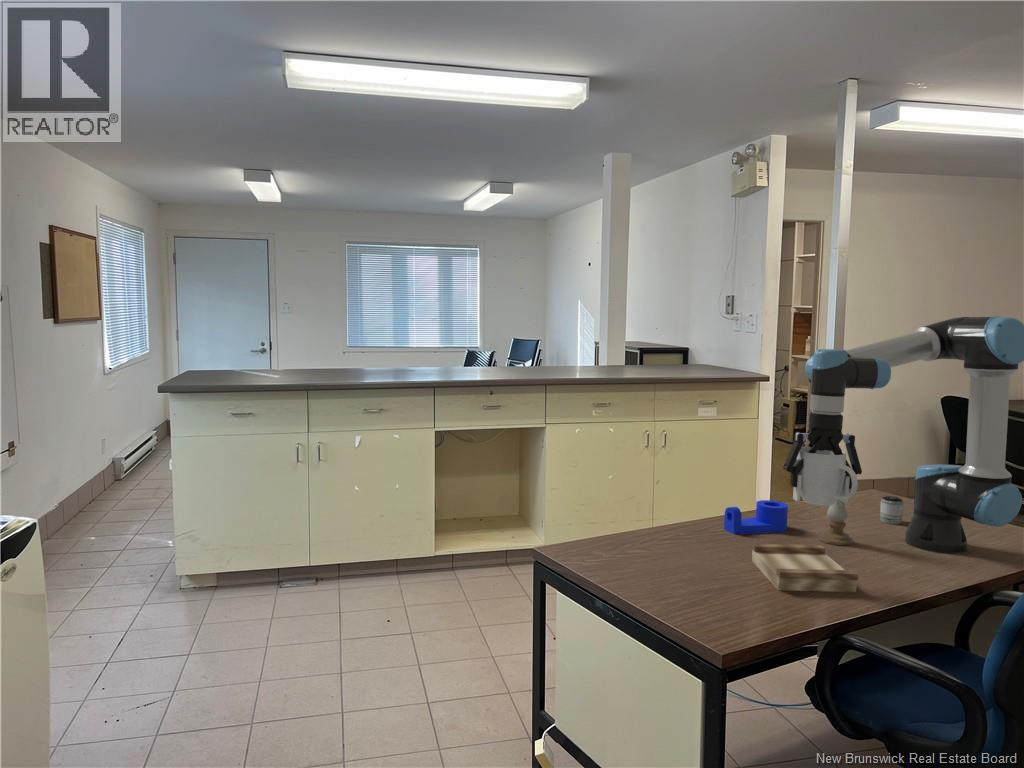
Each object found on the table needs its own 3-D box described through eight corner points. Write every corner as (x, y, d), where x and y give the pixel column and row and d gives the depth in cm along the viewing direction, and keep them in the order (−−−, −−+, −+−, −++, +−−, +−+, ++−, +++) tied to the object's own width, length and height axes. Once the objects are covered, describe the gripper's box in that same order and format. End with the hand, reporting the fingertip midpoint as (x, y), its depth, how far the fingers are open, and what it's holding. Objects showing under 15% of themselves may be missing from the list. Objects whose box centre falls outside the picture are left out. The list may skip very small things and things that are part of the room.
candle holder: (855, 547, 194) (859, 476, 192) (820, 543, 197) (824, 473, 195) (850, 538, 203) (854, 470, 201) (818, 534, 205) (821, 467, 204)
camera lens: (875, 519, 223) (876, 495, 222) (893, 518, 223) (895, 495, 222) (888, 525, 216) (889, 500, 216) (906, 524, 217) (908, 500, 216)
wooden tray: (820, 561, 182) (821, 545, 182) (857, 592, 162) (858, 574, 161) (751, 560, 183) (752, 543, 182) (779, 590, 162) (779, 572, 162)
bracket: (773, 523, 218) (774, 499, 217) (793, 531, 209) (794, 506, 209) (719, 528, 212) (720, 503, 211) (737, 536, 203) (738, 511, 203)
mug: (867, 508, 167) (871, 455, 166) (841, 515, 161) (845, 459, 160) (811, 495, 179) (814, 445, 178) (785, 500, 173) (788, 449, 172)
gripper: (867, 412, 172) (860, 498, 174) (772, 409, 173) (767, 495, 175) (882, 416, 165) (875, 506, 167) (783, 412, 165) (777, 503, 167)
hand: (820, 500), depth 171 cm, fingers closed on mug, 11 cm apart
